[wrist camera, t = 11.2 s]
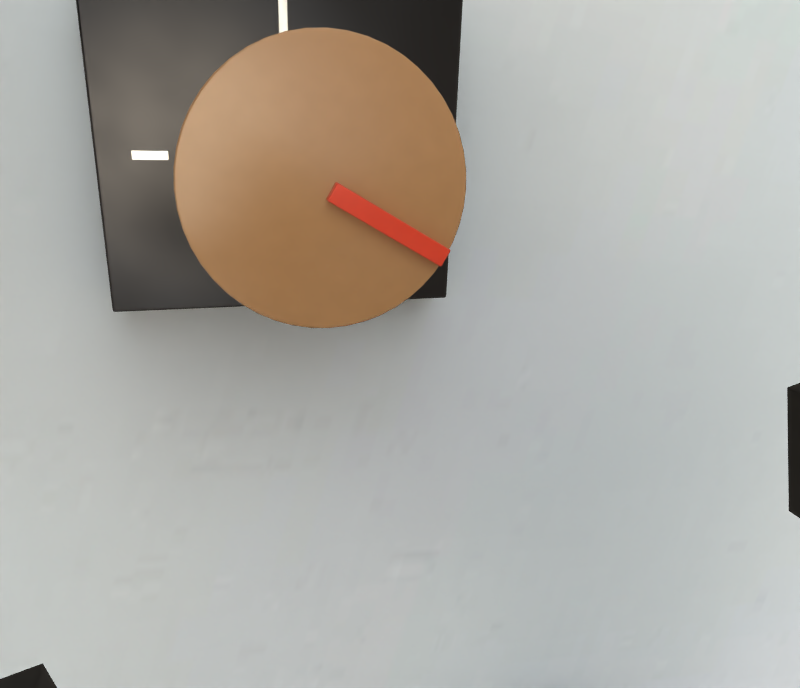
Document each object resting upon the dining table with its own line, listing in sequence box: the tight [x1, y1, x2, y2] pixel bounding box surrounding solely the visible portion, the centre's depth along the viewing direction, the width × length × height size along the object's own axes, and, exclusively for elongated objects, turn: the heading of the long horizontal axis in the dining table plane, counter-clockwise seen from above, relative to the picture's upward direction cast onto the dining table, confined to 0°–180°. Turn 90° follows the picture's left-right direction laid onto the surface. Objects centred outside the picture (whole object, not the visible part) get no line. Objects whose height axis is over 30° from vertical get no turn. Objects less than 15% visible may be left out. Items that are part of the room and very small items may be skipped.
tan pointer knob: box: [174, 27, 466, 328], centre depth 23 cm, size 8×8×11 cm
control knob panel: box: [76, 0, 463, 312], centre depth 29 cm, size 15×13×3 cm
